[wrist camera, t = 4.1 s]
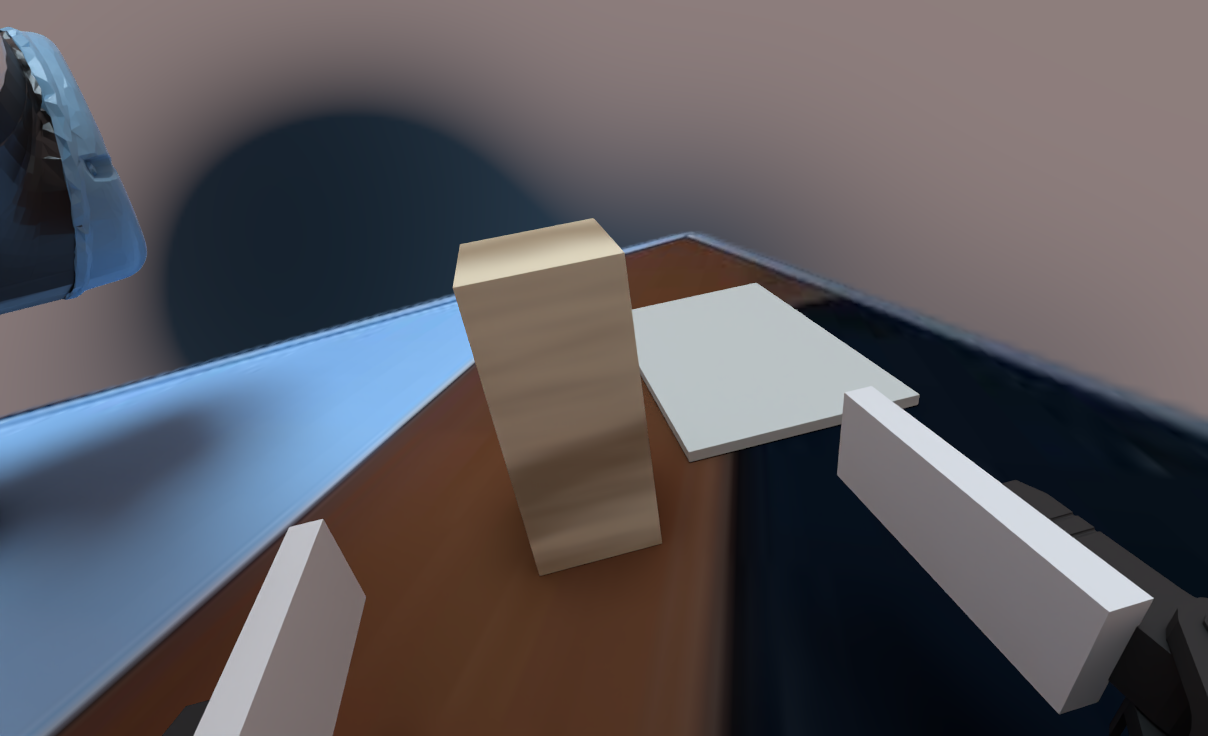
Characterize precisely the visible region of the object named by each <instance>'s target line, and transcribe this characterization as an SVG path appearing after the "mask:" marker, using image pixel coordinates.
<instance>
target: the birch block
mask: <svg viewBox="0 0 1208 736" xmlns="http://www.w3.org/2000/svg"><path fill="white" fill-rule="evenodd" d="M453 289H454V293H455V296H456V300H457V303H458V306H459V310H460V313H461V316H462V320H463V323H464V326H465V330H466V333H467V336H468V340H469V343H470V346H471V350H472V353H473V356H474V360H475V363H476V366H477V370H478V373H479V376H480V380H481V383H482V386H483V389H484V393H485V396H486V399H487V403H488V406H489V409H490V413H491V416H492V419H493V423H494V426H495V429H496V433H497V436H498V439H499V443H500V446H501V449H502V453H503V456H504V459H505V463H506V466H507V469H508V473H509V476H510V479H511V483H512V486H513V489H514V493H515V496H516V499H517V503H518V506H519V509H520V513H521V516H522V519H523V522H524V526H525V529H526V532H527V536H528V539H529V542H530V546H531V549H532V552H533V556H534V559H535V562H536V566H537V569H538V572H539V576H542V575H546V574H549V573H553V572H557V571H561V570H564V569H568V568H572V567H576V566H579V565H583V564H587V563H590V562H594V561H598V560H602V559H605V558H609V557H613V556H617V555H620V554H624V553H628V552H632V551H635V550H639V549H643V548H647V547H650V546H654V545H658V544H662V538H661V530H660V523H659V515H658V507H657V500H656V492H655V484H654V477H653V469H652V461H651V454H650V446H649V438H648V431H647V423H646V415H645V408H644V400H643V392H642V385H641V377H640V369H639V362H638V354H637V346H636V339H635V331H634V323H633V316H632V308H631V300H630V293H629V285H628V277H627V270H626V262H625V254H624V252H623V251H622V250H621V248H620V247H619V246H618V245H617V244H616V243H615V242H614V241H613V240H612V238H611V237H610V236H609V235H608V234H607V233H606V232H605V231H604V230H603V228H602V227H601V226H600V225H599V224H598V223H597V222H596V221H595V219H594V218H593V219H587V220H582V221H578V222H572V223H568V224H562V225H557V226H552V227H547V228H542V229H536V230H531V231H526V232H521V233H516V234H511V235H506V236H501V237H496V238H491V239H485V240H480V241H475V242H470V243H465V244H461V245H460V248H459V254H458V260H457V266H456V272H455V279H454V284H453Z"/></svg>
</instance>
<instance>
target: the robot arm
mask: <svg viewBox="0 0 1208 736" xmlns="http://www.w3.org/2000/svg"><path fill="white" fill-rule="evenodd" d="M146 256H147V248H146V243H145V240H144V237H143V233H142V230H141V228H140V225H139V222H138V220H137V217H136V215H135V212H134V210H133V207H132V205H131V203H130V200H129V198H128V195H127V193H126V191H125V188H124V186H123V184H122V182H121V179H120V177H119V175H118V173H117V171H116V169H115V168H114V167H113V165H112V163H111V157H110V155H109V153H108V151H107V149H106V147H105V144H104V141H103V138H102V136H101V134H100V131H99V129H98V127H97V125H96V123H95V120H94V118H93V116H92V114H91V112H90V110H89V108H88V105H87V103H86V101H85V99H84V97H83V95H82V93H81V91H80V89H79V87H78V85H77V83H76V81H75V79H74V77H73V75H72V73H71V71H70V69H69V67H68V65H67V63H66V61H65V60H64V58H63V56H62V54H61V53H60V51H59V50H58V48H57V46H56V45H55V44H54V43H53V42H52V41H50V40H49V39H48V38H46V37H45V36H43V35H40V34H37V33H33V32H22V31H19V30H17V29H13V28H11V27H5V28H2V29H0V315H1V314H5V313H8V312H13V311H17V310H21V309H24V308H29V307H33V306H36V305H40V304H45V303H48V302H52V301H56V300H61V299H65V300H67V299H72V298H76V297H78V296H79V295H81V294H82V293H83V292H84V291H85V290H88V289H91V288H95V287H98V286H101V285H105V284H108V283H111V282H115V281H118V280H121V279H124V278H127V277H129V276H132V275H133V274H135V273H136V272H138V271H139V270H140V269H141V267H142V266H143V264H144V262H145V260H146ZM837 475H838V476H839V477H840V478H841V479H842V480H843V481H844V483H845V484H846V485H847V486H848V487H849V488H850V489H851V490H852V491H853V492H854V493H855V494H856V496H857V497H858V498H859V499H860V500H861V501H862V502H863V503H864V504H865V505H866V506H867V507H868V508H869V510H870V511H871V512H872V513H873V514H874V515H875V516H876V517H877V518H878V519H879V520H880V521H881V522H882V524H883V525H884V526H885V527H886V528H887V529H888V530H889V531H890V532H891V533H892V534H893V535H894V537H895V538H896V539H897V540H898V541H899V542H900V543H901V544H902V545H903V546H904V547H905V548H906V549H907V551H908V552H909V553H910V554H911V555H912V556H913V557H914V558H915V559H916V560H917V561H918V562H919V564H920V565H921V566H922V567H923V568H924V569H925V570H926V571H927V572H928V573H929V574H930V575H931V576H932V578H933V579H934V580H935V581H936V582H937V583H938V584H939V585H940V586H941V587H942V588H943V589H944V591H945V592H946V593H947V594H948V595H949V596H950V597H951V598H952V599H953V600H954V601H955V602H956V603H957V605H958V606H959V607H960V608H961V609H962V610H963V611H964V612H965V613H966V614H967V615H968V616H969V618H970V619H971V620H972V621H973V622H974V623H975V624H976V625H977V626H978V627H979V628H980V629H981V630H982V632H983V633H984V634H985V635H986V636H987V637H988V638H989V639H990V640H991V641H992V642H993V643H994V645H995V646H996V647H997V648H998V649H999V650H1000V651H1001V652H1002V653H1003V654H1004V655H1005V656H1006V657H1007V659H1008V660H1009V661H1010V662H1011V663H1012V664H1013V665H1014V666H1015V667H1016V668H1017V669H1018V670H1019V672H1020V673H1021V674H1022V675H1023V676H1024V677H1025V678H1026V679H1027V680H1028V681H1029V682H1030V683H1031V684H1032V686H1033V687H1034V688H1035V689H1036V690H1037V691H1038V692H1039V693H1040V694H1041V695H1042V696H1043V697H1044V699H1045V700H1046V701H1047V702H1048V703H1049V704H1050V705H1051V706H1052V707H1053V708H1054V709H1055V710H1056V711H1057V713H1058V714H1062V713H1065V712H1068V711H1071V710H1074V709H1078V708H1081V707H1084V706H1087V705H1090V704H1093V703H1096V702H1098V701H1099V699H1100V697H1101V695H1102V693H1103V691H1104V690H1105V688H1106V686H1107V684H1108V682H1109V681H1110V682H1111V683H1112V684H1113V685H1114V686H1115V687H1116V688H1117V689H1118V690H1119V691H1120V692H1121V693H1123V694H1124V695H1125V696H1126V697H1125V699H1124V701H1123V703H1122V704H1121V706H1120V708H1119V709H1118V711H1117V713H1116V715H1115V716H1114V718H1113V720H1112V721H1111V723H1110V730H1109V736H1120V735H1121V733H1122V732H1123V730H1124V728H1125V727H1126V725H1127V728H1128V732H1129V736H1208V598H1202V597H1201V598H1195V597H1193V596H1191V595H1190V594H1188V593H1187V592H1185V591H1183V590H1182V589H1180V588H1179V587H1177V586H1176V585H1175V584H1173V583H1172V582H1170V581H1169V580H1168V579H1166V578H1165V577H1163V576H1162V575H1161V574H1159V573H1158V572H1156V571H1155V570H1153V569H1152V568H1151V567H1149V566H1148V565H1146V564H1145V563H1144V562H1142V561H1141V560H1139V559H1138V558H1137V557H1135V556H1134V555H1132V554H1131V553H1130V552H1128V551H1127V550H1125V549H1124V548H1122V547H1121V546H1120V545H1118V544H1117V543H1115V542H1114V541H1113V540H1111V539H1110V538H1108V537H1107V536H1106V535H1104V534H1103V533H1101V532H1100V531H1099V532H1096V531H1095V529H1094V527H1093V526H1091V525H1090V524H1089V523H1087V522H1086V521H1084V520H1083V519H1082V518H1080V517H1079V516H1074V515H1073V512H1072V511H1070V510H1069V509H1068V508H1066V507H1065V506H1063V505H1062V504H1060V503H1059V502H1058V501H1056V500H1055V499H1053V498H1052V497H1051V496H1049V495H1048V494H1046V493H1044V492H1042V491H1039V490H1037V489H1035V488H1033V487H1030V486H1028V485H1026V484H1023V483H1021V482H1019V481H1017V480H1014V481H1010V482H1006V483H1003V484H1001V483H1000V482H999V481H997V480H996V479H995V478H993V477H992V476H991V475H989V474H988V473H987V472H985V471H984V470H983V469H981V468H980V467H979V466H977V465H976V464H975V463H973V462H972V461H971V460H969V459H968V458H967V457H965V456H964V455H963V454H961V453H960V452H959V451H957V450H956V449H955V448H953V447H952V446H951V445H949V444H948V443H947V442H945V441H944V440H943V439H941V438H940V437H939V436H937V435H936V434H935V433H933V432H932V431H931V430H929V429H928V428H927V427H926V426H924V425H923V424H922V423H920V422H919V421H918V420H916V419H915V418H914V417H912V416H911V415H910V414H908V413H907V412H906V411H904V410H903V409H902V408H900V407H899V406H898V405H896V404H895V403H894V402H892V401H891V400H890V399H888V398H887V397H886V396H884V395H883V394H882V393H880V392H879V391H878V390H876V389H875V388H874V387H872V386H869V387H865V388H861V389H857V390H853V391H848V392H844V402H843V413H842V425H841V436H840V448H839V459H838V471H837ZM365 599H366V596H365V594H364V592H363V590H362V589H361V587H360V585H359V583H358V581H357V579H356V578H355V576H354V574H353V572H352V570H351V568H350V567H349V565H348V563H347V561H346V559H345V558H344V556H343V554H342V552H341V550H340V548H339V547H338V545H337V543H336V541H335V539H334V538H333V536H332V534H331V532H330V530H329V528H328V527H327V525H326V523H325V521H324V519H321V520H317V521H312V522H308V523H304V524H300V525H296V526H292V527H289V529H288V531H287V533H286V535H285V537H284V540H283V542H282V544H281V546H280V548H279V551H278V553H277V555H276V557H275V559H274V561H273V564H272V566H271V568H270V570H269V572H268V575H267V577H266V579H265V581H264V583H263V585H262V588H261V590H260V592H259V594H258V596H257V598H256V601H255V603H254V605H253V607H252V609H251V612H250V614H249V616H248V618H247V620H246V622H245V625H244V627H243V629H242V631H241V633H240V636H239V638H238V640H237V642H236V644H235V646H234V649H233V651H232V653H231V655H230V657H229V659H228V662H227V664H226V666H225V668H224V670H223V673H222V675H221V677H220V679H219V681H218V683H217V686H216V688H215V690H214V692H213V694H212V697H211V699H210V700H207V701H204V702H200V703H196V704H193V705H189V706H186V707H185V708H184V709H183V711H182V712H181V713H180V714H179V715H178V717H177V718H176V719H175V720H174V722H173V723H172V724H171V725H170V727H169V728H168V729H167V730H166V731H165V733H164V734H163V735H162V736H333V732H334V728H335V723H336V719H337V715H338V711H339V707H340V703H341V699H342V694H343V690H344V686H345V682H346V678H347V674H348V670H349V665H350V661H351V657H352V653H353V649H354V645H355V641H356V636H357V632H358V628H359V624H360V620H361V616H362V612H363V607H364V603H365Z"/></svg>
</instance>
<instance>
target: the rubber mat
mask: <svg viewBox="0 0 1208 736" xmlns="http://www.w3.org/2000/svg"><path fill="white" fill-rule="evenodd" d="M632 316H633V323H634V331H635V339H636V346H637V354H638V362H639V369H640V375H641V376H642V378H643V380H644V382H645V383H646V385H647V387H648V389H649V391H650V392H651V394H652V396H653V398H654V399H655V401H656V403H657V405H658V407H659V408H660V410H661V412H662V414H663V416H664V417H665V419H666V421H667V423H668V424H669V426H670V428H671V430H672V432H673V433H674V435H675V437H676V439H677V441H678V442H679V444H680V446H681V448H682V449H683V451H684V453H685V455H686V457H687V458H688V460H689V462H692V461H696V460H700V459H704V458H708V457H712V456H716V455H720V454H724V453H728V452H732V451H736V450H740V449H744V448H748V447H752V446H756V445H760V444H764V443H768V442H772V441H776V440H780V439H784V438H788V437H792V436H796V435H800V434H804V433H808V432H811V431H815V430H819V429H823V428H827V427H831V426H835V425H839V424H842V413H843V402H844V392H848V391H853V390H857V389H861V388H865V387H869V386H872V387H874V388H875V389H876V390H878V391H879V392H880V393H882V394H883V395H884V396H886V397H887V398H888V399H890V400H891V401H892V402H894V403H895V404H896V405H898V406H899V407H900V408H902V409H903V408H907V407H911V406H915V405H918V401H919V394H918V393H917V392H915V391H914V390H912V389H911V388H909V387H908V386H906V385H905V384H903V383H902V382H900V381H899V380H898V379H896V378H895V377H893V376H892V375H890V374H889V373H887V372H886V371H884V370H883V369H881V368H880V367H879V366H877V365H876V364H874V363H873V362H871V361H870V360H868V359H867V358H865V357H864V356H862V355H861V354H860V353H858V352H857V351H855V350H854V349H852V348H851V347H849V346H848V345H846V344H845V343H843V342H842V341H841V340H839V339H838V338H836V337H835V336H833V335H832V334H830V333H829V332H827V331H826V330H824V329H823V328H822V327H820V326H819V325H817V324H816V323H814V322H813V321H811V320H810V319H808V318H807V317H805V316H804V315H803V314H801V313H800V312H798V311H797V310H795V309H794V308H792V307H791V306H789V305H788V304H786V303H785V302H784V301H782V300H781V299H779V298H778V297H776V296H775V295H773V294H772V293H770V292H769V291H767V290H766V289H765V288H763V287H762V286H760V285H759V284H757V283H753V284H749V285H744V286H739V287H735V288H730V289H726V290H721V291H716V292H712V293H707V294H703V295H698V296H693V297H689V298H684V299H680V300H675V301H670V302H666V303H661V304H657V305H652V306H647V307H643V308H638V309H633V310H632Z"/></svg>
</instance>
